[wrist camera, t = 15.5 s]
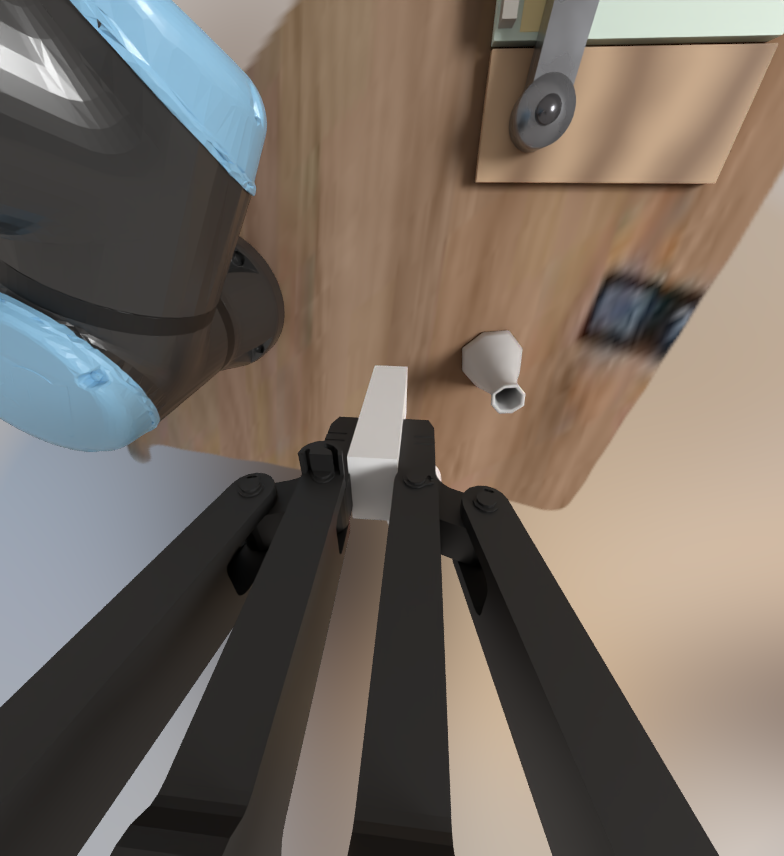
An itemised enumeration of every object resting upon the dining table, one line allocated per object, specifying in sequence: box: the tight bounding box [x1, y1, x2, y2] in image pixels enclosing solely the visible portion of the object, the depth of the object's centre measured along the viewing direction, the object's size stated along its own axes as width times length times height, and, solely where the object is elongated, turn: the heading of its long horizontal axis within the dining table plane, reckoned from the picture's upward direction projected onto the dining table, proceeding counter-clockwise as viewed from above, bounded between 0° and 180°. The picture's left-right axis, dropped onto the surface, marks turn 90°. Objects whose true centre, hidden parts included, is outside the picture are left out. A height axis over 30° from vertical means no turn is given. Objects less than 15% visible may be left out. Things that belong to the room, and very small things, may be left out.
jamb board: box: [475, 43, 779, 184], centre depth 27 cm, size 20×8×1 cm, turn 90°
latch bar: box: [509, 0, 599, 152], centre depth 22 cm, size 12×4×4 cm, turn 173°
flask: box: [462, 330, 525, 414], centre depth 36 cm, size 7×7×10 cm
